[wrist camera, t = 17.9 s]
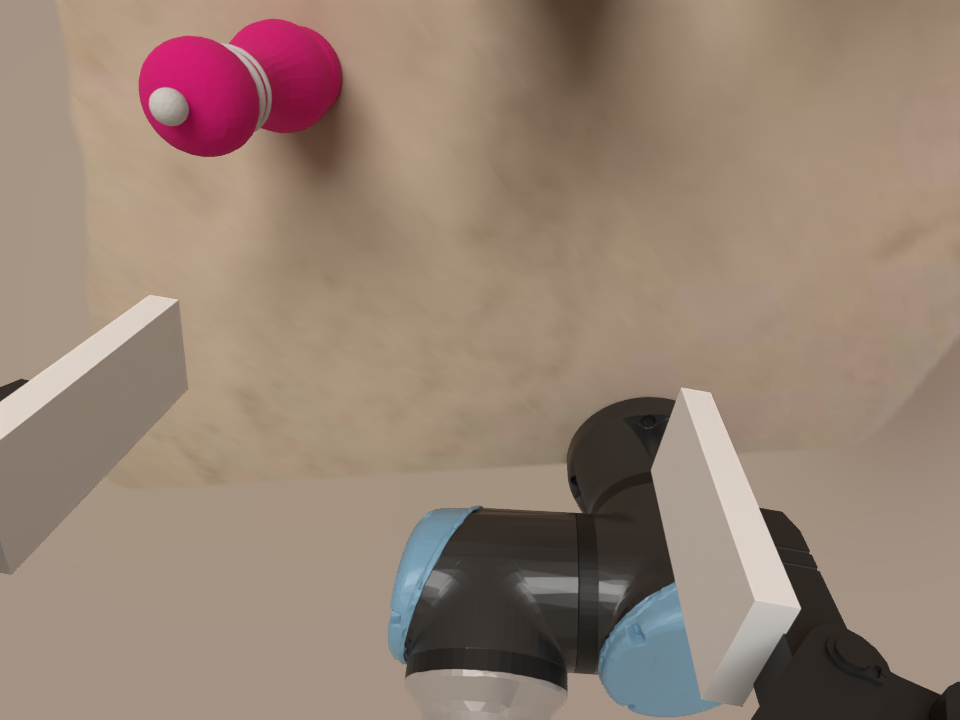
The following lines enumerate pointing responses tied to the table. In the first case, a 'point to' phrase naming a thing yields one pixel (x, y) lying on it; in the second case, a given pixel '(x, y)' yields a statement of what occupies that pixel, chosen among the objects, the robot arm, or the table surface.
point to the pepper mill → (238, 86)
